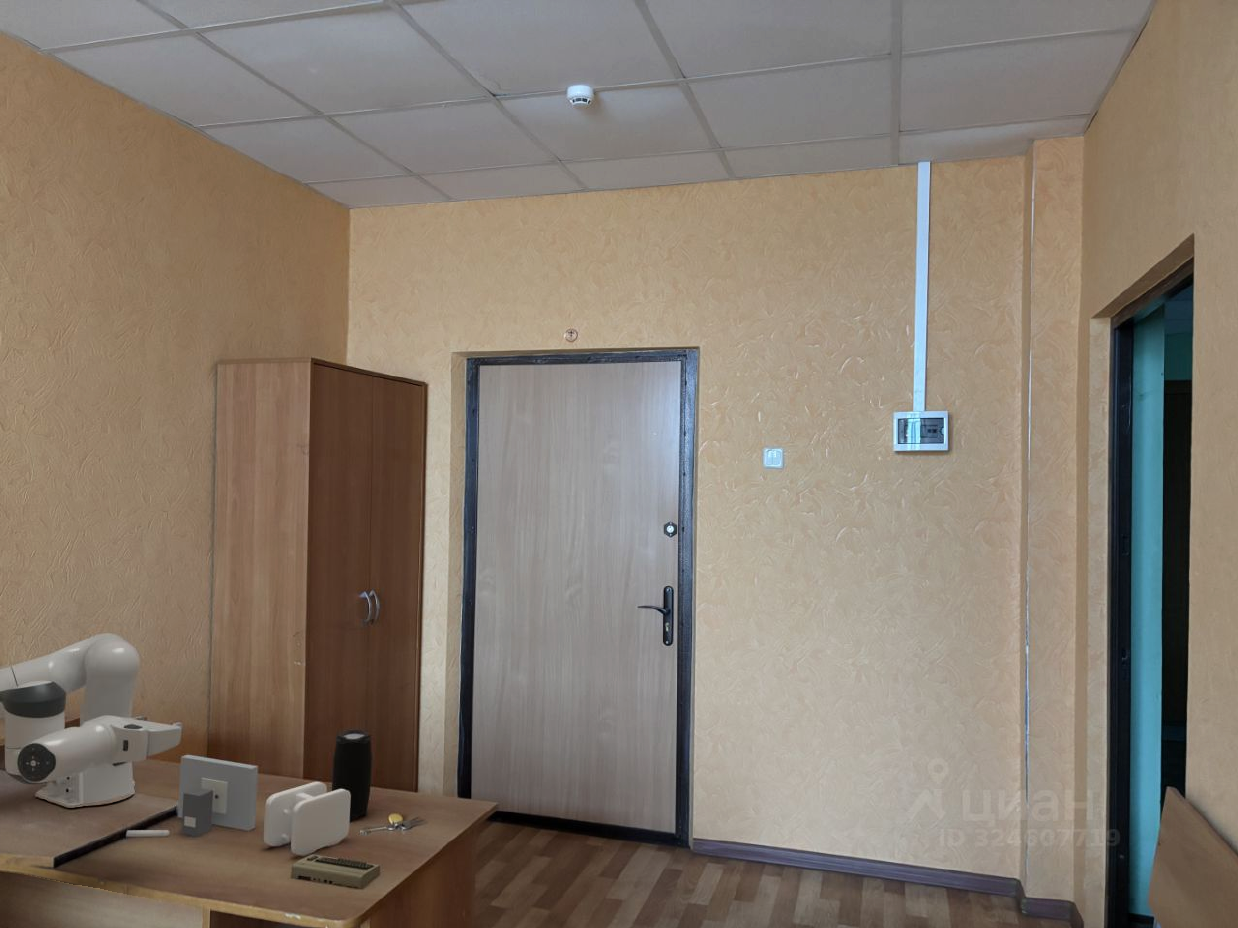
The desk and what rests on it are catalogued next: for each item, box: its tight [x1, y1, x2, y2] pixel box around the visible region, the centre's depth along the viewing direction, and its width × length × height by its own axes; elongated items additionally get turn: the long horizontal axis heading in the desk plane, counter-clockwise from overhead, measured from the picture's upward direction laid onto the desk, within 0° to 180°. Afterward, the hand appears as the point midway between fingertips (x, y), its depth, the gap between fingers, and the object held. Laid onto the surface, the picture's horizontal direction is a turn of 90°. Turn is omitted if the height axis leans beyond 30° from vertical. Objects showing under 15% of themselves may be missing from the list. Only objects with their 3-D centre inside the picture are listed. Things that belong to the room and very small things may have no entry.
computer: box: [290, 853, 381, 890], centre depth 182 cm, size 16×8×3 cm, turn 77°
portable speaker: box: [331, 728, 373, 822], centre depth 214 cm, size 9×9×20 cm
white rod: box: [125, 829, 170, 838], centre depth 197 cm, size 9×1×1 cm, turn 98°
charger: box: [180, 788, 213, 838], centre depth 201 cm, size 4×5×9 cm
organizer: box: [263, 781, 351, 857], centre depth 197 cm, size 15×11×12 cm
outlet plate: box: [177, 754, 259, 832], centre depth 206 cm, size 20×2×14 cm, turn 73°
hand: (161, 723), depth 189 cm, fingers open, 8 cm apart
